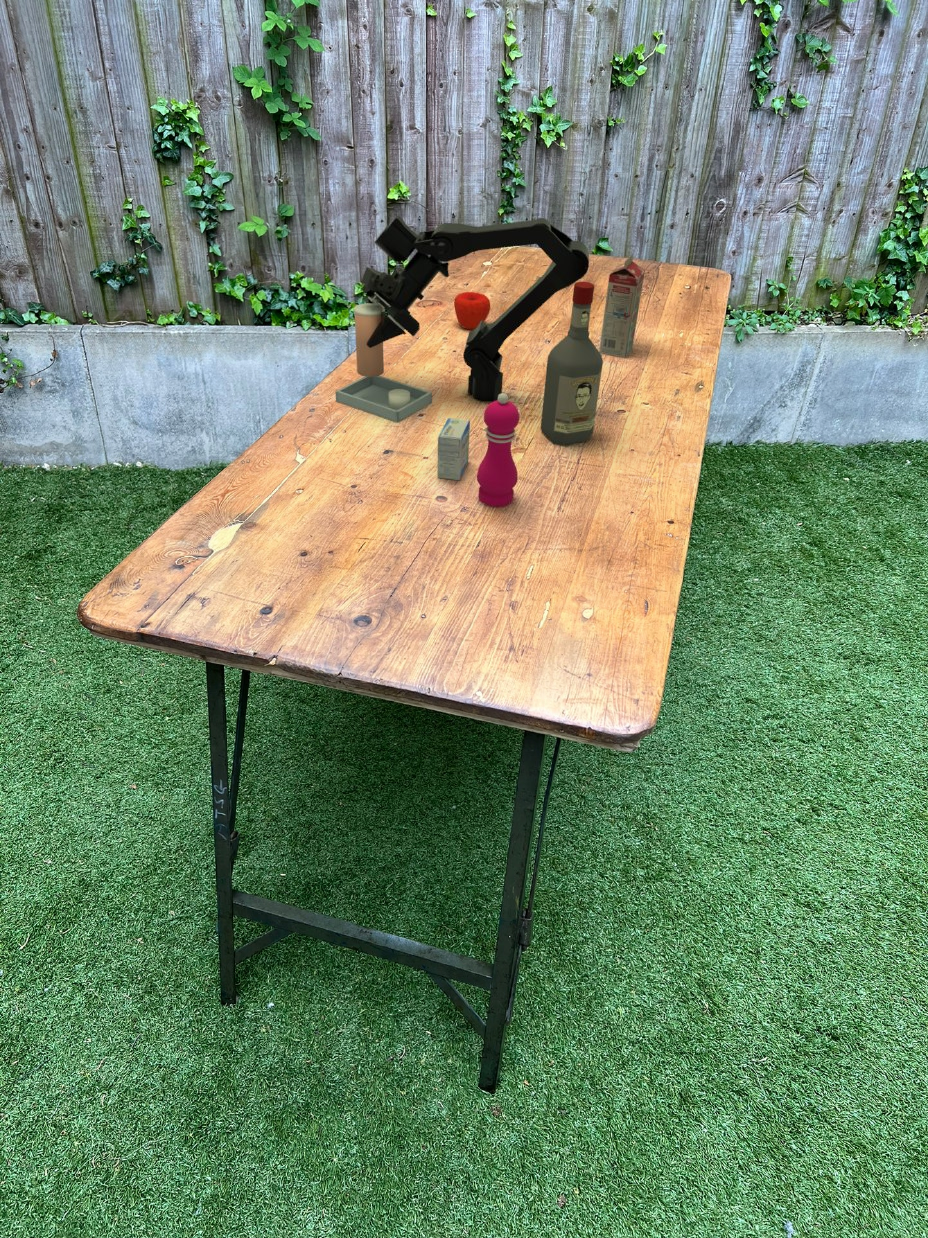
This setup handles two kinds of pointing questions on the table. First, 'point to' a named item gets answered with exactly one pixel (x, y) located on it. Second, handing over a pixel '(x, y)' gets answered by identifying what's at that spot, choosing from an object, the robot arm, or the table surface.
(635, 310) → the juice carton
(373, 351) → the coffee tin
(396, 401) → the cream dome ball
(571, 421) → the liquor
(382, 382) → the grey shallow tray
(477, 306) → the apple
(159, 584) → the table surface
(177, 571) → the table surface
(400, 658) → the table surface
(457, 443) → the medicine box
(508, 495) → the pepper mill
